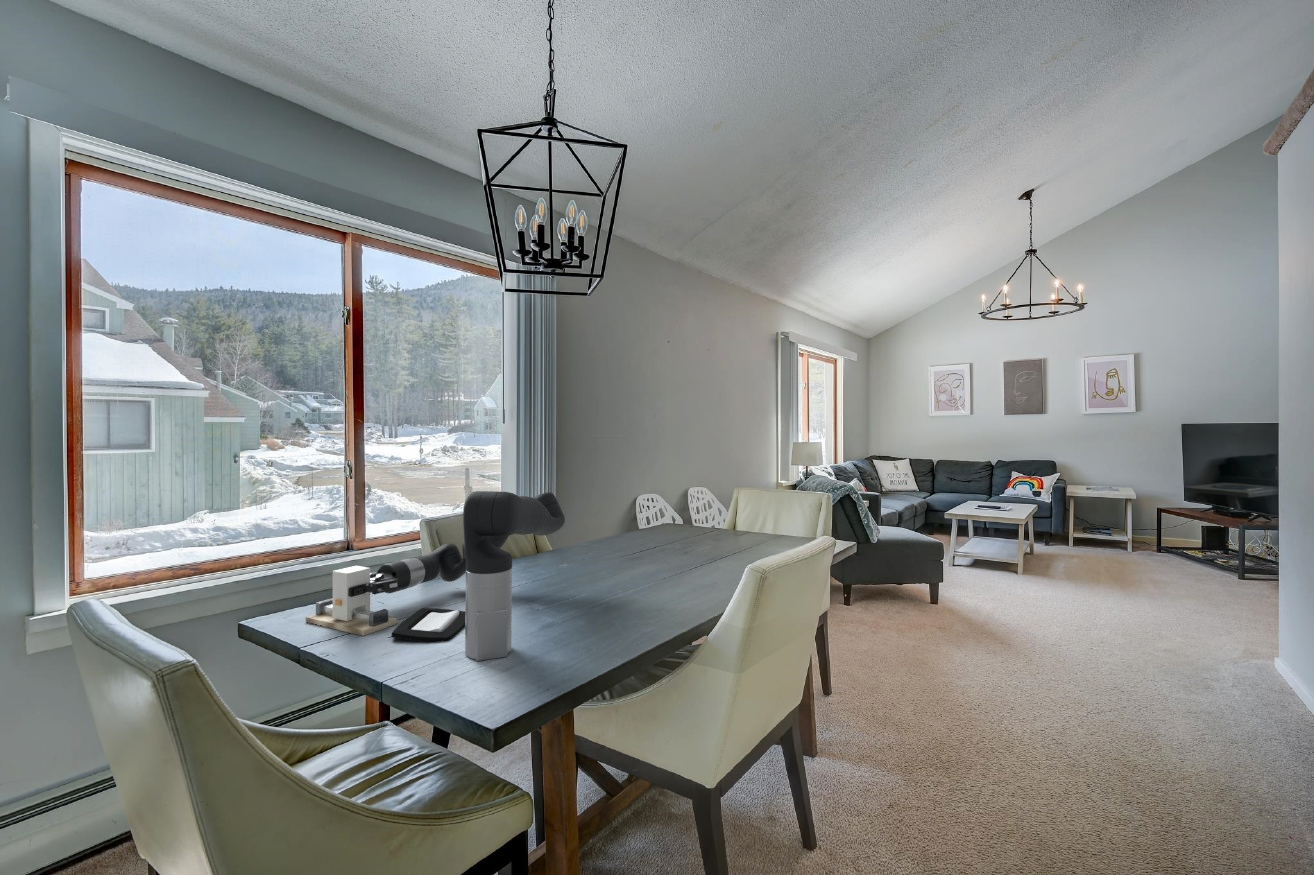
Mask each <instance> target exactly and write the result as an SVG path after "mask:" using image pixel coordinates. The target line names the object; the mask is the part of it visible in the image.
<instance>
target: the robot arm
mask: <svg viewBox="0 0 1314 875" xmlns="http://www.w3.org/2000/svg"><path fill="white" fill-rule="evenodd" d="M462 522H463V523H462V525H463V526H462V527H463V540H464V541H463V543H462V545H461V547H462V548H461V549H462V555H461V552H460V549H459V547H458V546H457V545H456V544H454V543H449V542H448V543H444V544H443V545H440V546H439V547H438V548H436V549H434V550H432V551H431V552H430V553H427V554H424V555H421V556H417V557H413V558H405V559H399V560H396V561H391V562H388V563H384V564H382V565H381V566H380V567H379V568H378V570H377V572H376V571H374V572H370V582H366V583H365V585H364V584H361V585H357V586H353V587H350V588H349V589H348V596H349V597H354V596H357V595H361V594H364V593H365V594H369V593H370V594H372V595H378V594H382V593H383V594H384V593H385V594H394V593H397V592H400V591H403V590H407V589H410V588H413V587H416V586H418V585H420V584H423V583H427V582H430V581H433V580H435V579H436V578H437V577H438V576H440V578H441V579H442V581H444V582H448V583H450V582H454V581H457V580H459V579H460V578H462V577H463V576H464V575H465V627H464V628H465V630H464V634H465V638H464V639H465V641H464V644H465V645H464V646H465V647H464V648H465V649H464V654H465V656H466V657H468V658H470V659H474V660H475V662H478V661H479V662H481V661H484V660H485V661H486V660H492V659H497V658H498V659H500V658H505V657H508V655H509V653H510V652H511V651H512V632H513V630H512V629H513V628H512V625H513V624H512V623H513V622H512V619H513V618H512V614H513V612H512V611H513V610H512V609H513V607H512V606H513V604H512V603H513V593H512V592H513V556H512V555H511V553H509V552H508V551H506V550H504V549H501V548H502V547H503V546H504V545H505V543H506V542H507V540H508V538H509V537H510V536H512V535H520V536H521V535H531V534H533V535H536V536H540V537H541V536H548V535H552V534H554V533H555V532H558V531H560V529H561V528H562V527H563V526H564V525H565V522H566V518H565V514H564V512H563V510H562V507H561V506H560V504H559V502H558V499H557V498H556V496H555V494H554V493H553V492H551V491H550V492H548V491H547V492H543V493H540V494H538V495H536V496H535V495H534V496H533V497H532V496H526V495H517V494H515V493H514V492H509V491H497V490H496V491H493V490H491V491H490V490H489V491H488V490H485V491H483V490H481V491H480V490H477V491H471V492H469V493H468V495H467V496H466V498H465V501H464V504H463V511H462ZM331 591H332V594H333V585H332V587H331Z"/></svg>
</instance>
